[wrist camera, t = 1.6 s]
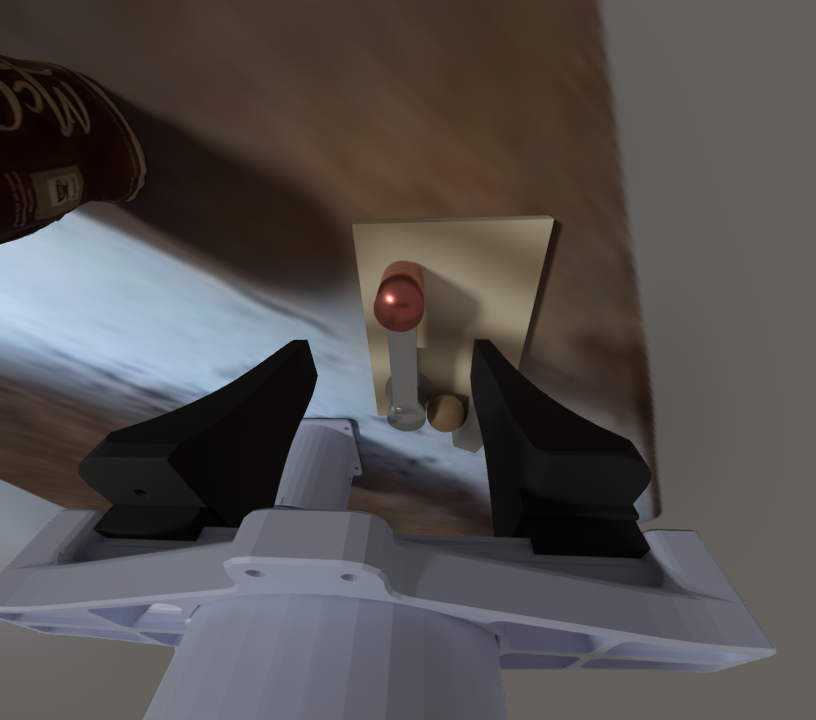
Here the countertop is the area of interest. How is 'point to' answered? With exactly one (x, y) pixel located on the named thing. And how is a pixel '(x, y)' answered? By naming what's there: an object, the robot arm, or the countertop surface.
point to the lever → (402, 340)
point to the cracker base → (454, 302)
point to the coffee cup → (59, 147)
